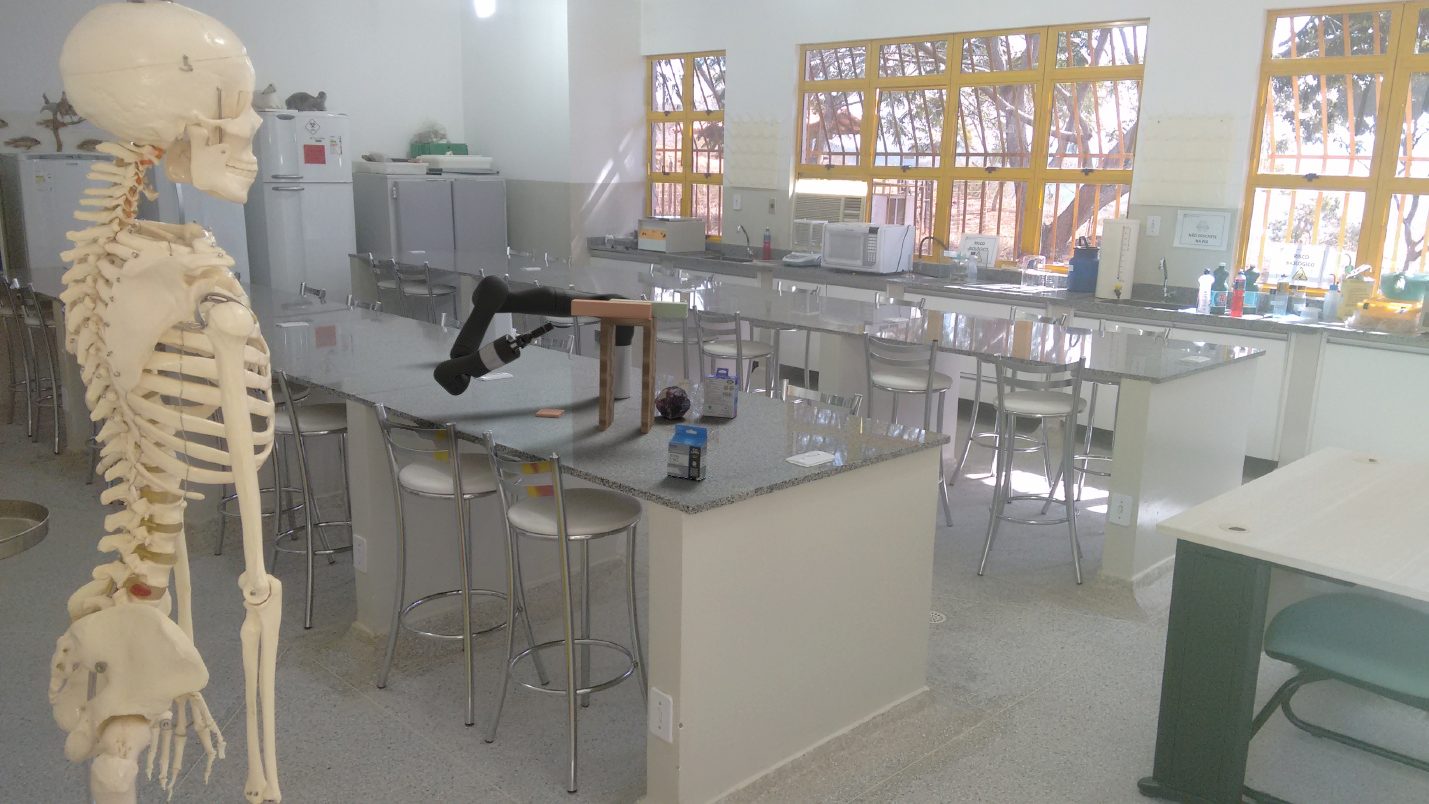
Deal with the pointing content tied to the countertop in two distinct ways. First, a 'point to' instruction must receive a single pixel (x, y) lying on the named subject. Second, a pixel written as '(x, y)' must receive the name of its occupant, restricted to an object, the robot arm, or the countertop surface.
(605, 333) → the wooden stand
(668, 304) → the sage rod
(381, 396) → the countertop surface
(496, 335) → the plastic bottle
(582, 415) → the countertop surface
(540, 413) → the tile
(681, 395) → the mineral specimen
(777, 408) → the countertop surface
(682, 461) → the label tape box
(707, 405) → the ink cartridge box
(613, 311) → the terracotta rod
